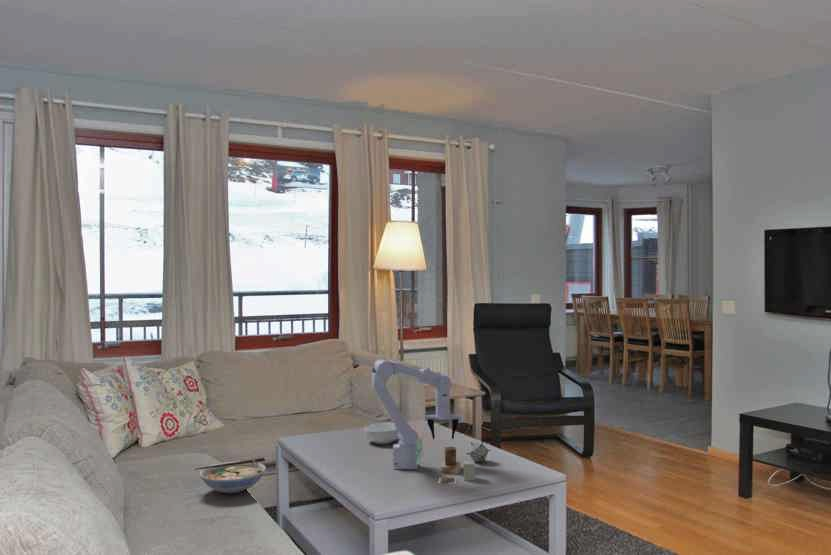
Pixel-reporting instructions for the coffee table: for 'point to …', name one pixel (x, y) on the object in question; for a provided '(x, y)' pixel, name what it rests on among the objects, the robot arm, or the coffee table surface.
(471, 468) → the sage green block
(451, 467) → the oak base block
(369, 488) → the coffee table surface
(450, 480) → the swatch
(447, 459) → the walnut block
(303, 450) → the coffee table surface
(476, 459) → the game die
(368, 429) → the cereal bowl
